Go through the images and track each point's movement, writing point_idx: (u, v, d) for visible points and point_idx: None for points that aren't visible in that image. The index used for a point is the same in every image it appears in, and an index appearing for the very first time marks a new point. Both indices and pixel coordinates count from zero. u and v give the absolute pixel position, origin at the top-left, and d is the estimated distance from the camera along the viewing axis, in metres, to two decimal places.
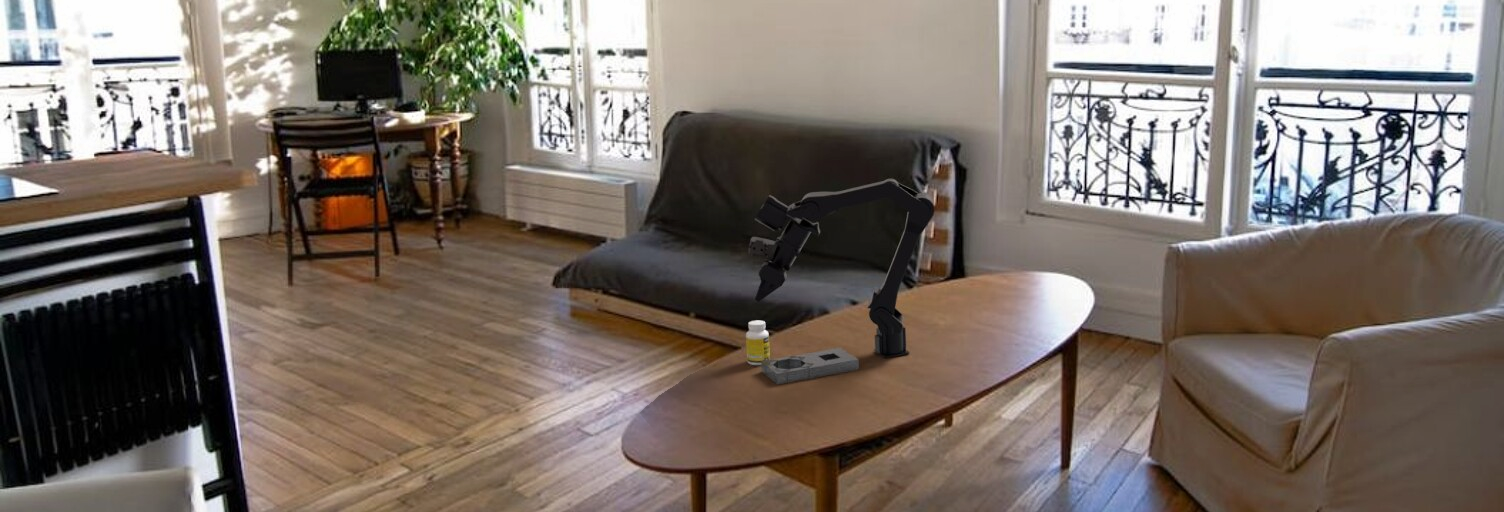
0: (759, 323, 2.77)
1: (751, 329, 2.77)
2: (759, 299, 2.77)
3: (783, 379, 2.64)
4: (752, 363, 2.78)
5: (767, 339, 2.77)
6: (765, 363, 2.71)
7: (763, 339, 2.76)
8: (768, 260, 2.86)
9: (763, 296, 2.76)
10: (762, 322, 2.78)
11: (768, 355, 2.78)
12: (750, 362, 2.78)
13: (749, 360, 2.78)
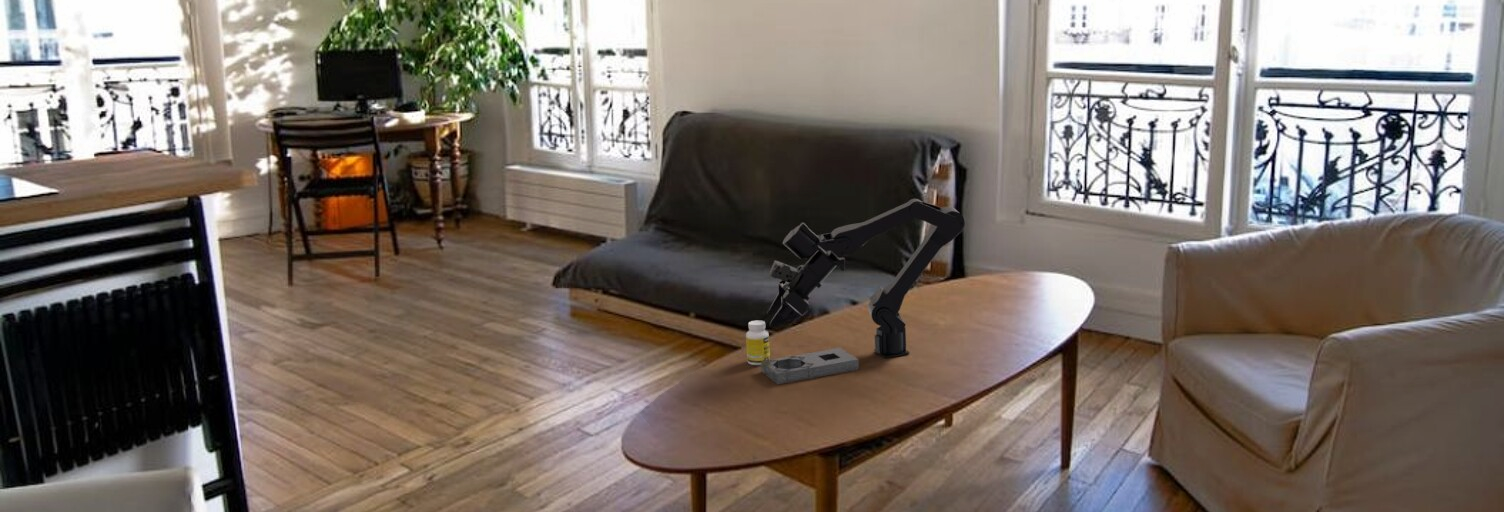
0: (759, 323, 2.77)
1: (751, 329, 2.77)
2: (774, 324, 2.73)
3: (783, 379, 2.64)
4: (752, 363, 2.78)
5: (767, 339, 2.77)
6: (765, 363, 2.71)
7: (763, 339, 2.76)
8: (780, 285, 2.82)
9: (779, 322, 2.72)
10: (762, 322, 2.78)
11: (768, 355, 2.78)
12: (750, 362, 2.78)
13: (749, 360, 2.78)
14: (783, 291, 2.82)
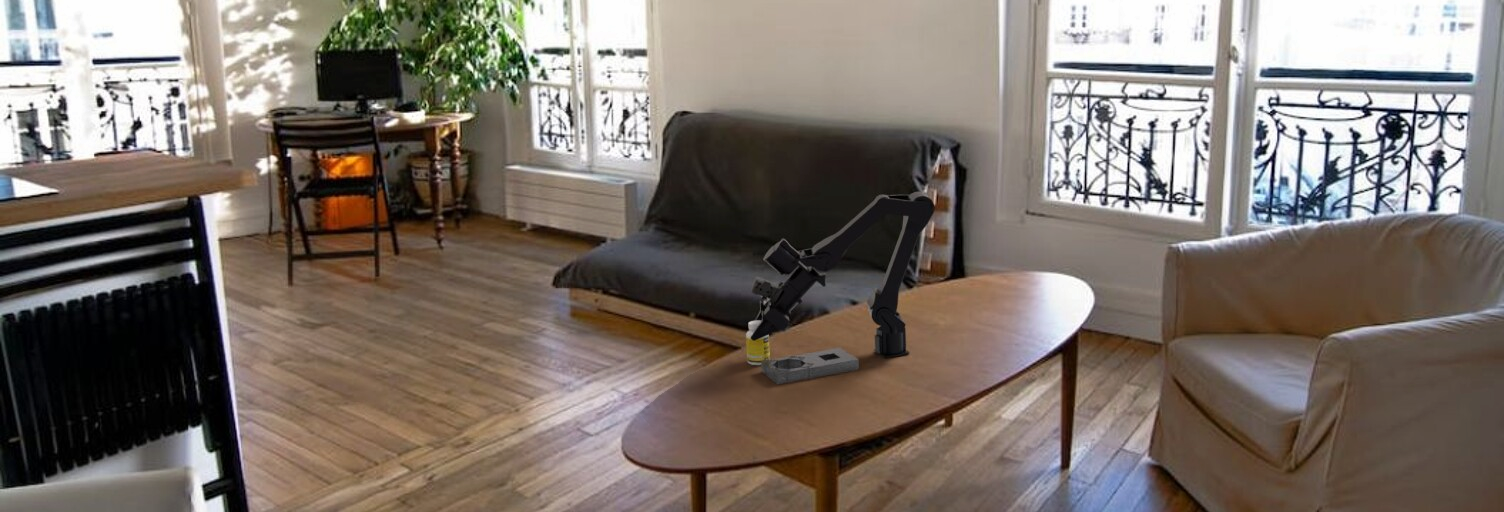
0: None
1: (751, 329, 2.77)
2: (755, 338, 2.75)
3: (783, 379, 2.64)
4: (752, 363, 2.78)
5: (767, 339, 2.77)
6: (765, 363, 2.71)
7: (763, 339, 2.76)
8: (762, 303, 2.81)
9: (760, 336, 2.75)
10: None
11: (768, 355, 2.78)
12: (750, 362, 2.78)
13: (749, 360, 2.78)
14: (765, 308, 2.81)
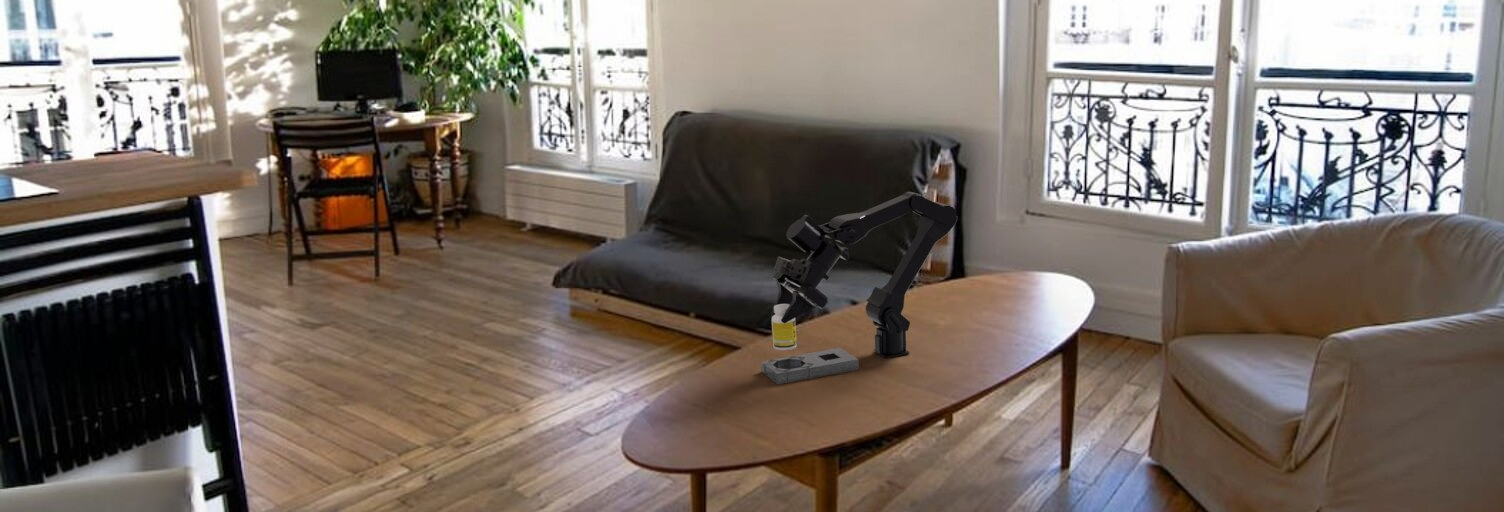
0: (786, 306, 2.67)
1: (779, 313, 2.66)
2: (786, 320, 2.65)
3: (783, 379, 2.64)
4: (782, 348, 2.67)
5: None
6: (765, 363, 2.71)
7: (792, 322, 2.66)
8: None
9: (792, 317, 2.65)
10: (788, 305, 2.68)
11: None
12: (779, 348, 2.67)
13: (778, 346, 2.67)
14: (785, 290, 2.71)
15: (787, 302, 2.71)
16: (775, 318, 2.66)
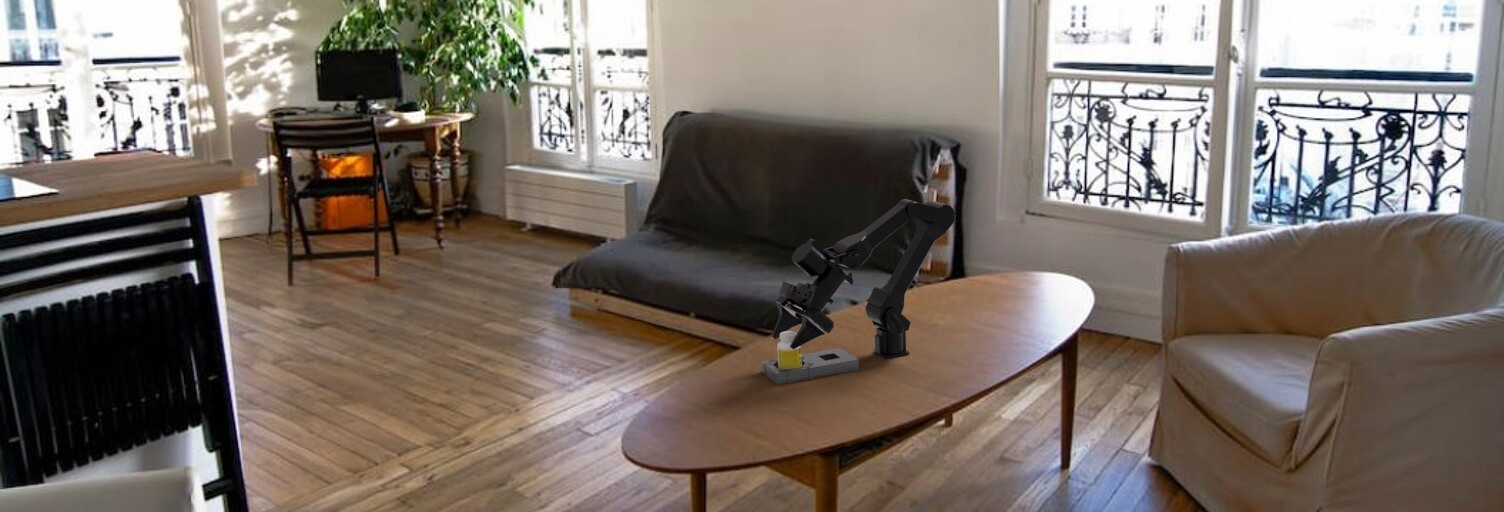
0: (792, 333, 2.67)
1: (785, 340, 2.66)
2: (795, 346, 2.63)
3: (783, 379, 2.64)
4: None
5: (800, 349, 2.68)
6: (765, 363, 2.71)
7: (798, 349, 2.67)
8: (782, 306, 2.73)
9: (801, 343, 2.63)
10: (794, 332, 2.68)
11: (801, 365, 2.69)
12: None
13: None
14: (786, 312, 2.72)
15: (788, 324, 2.73)
16: (781, 345, 2.67)
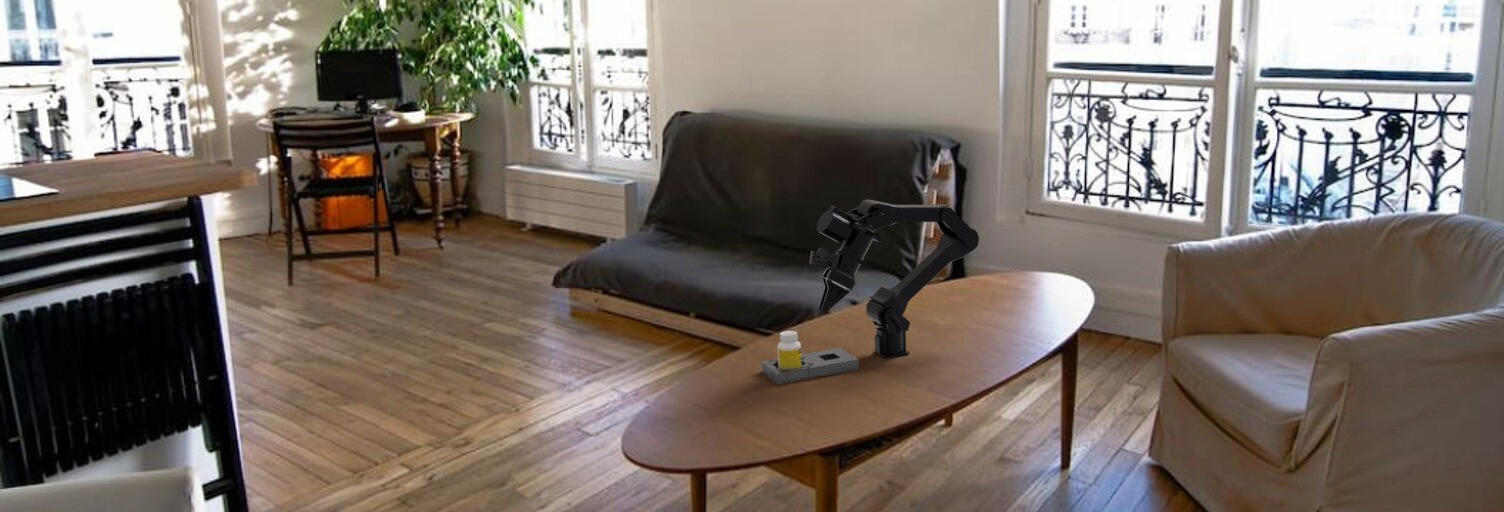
0: (792, 333, 2.67)
1: (786, 340, 2.66)
2: (826, 310, 2.67)
3: (783, 379, 2.64)
4: None
5: None
6: (765, 363, 2.71)
7: (798, 349, 2.67)
8: (825, 279, 2.78)
9: (830, 306, 2.66)
10: (794, 332, 2.68)
11: (801, 366, 2.69)
12: None
13: None
14: None
15: None
16: (781, 345, 2.67)
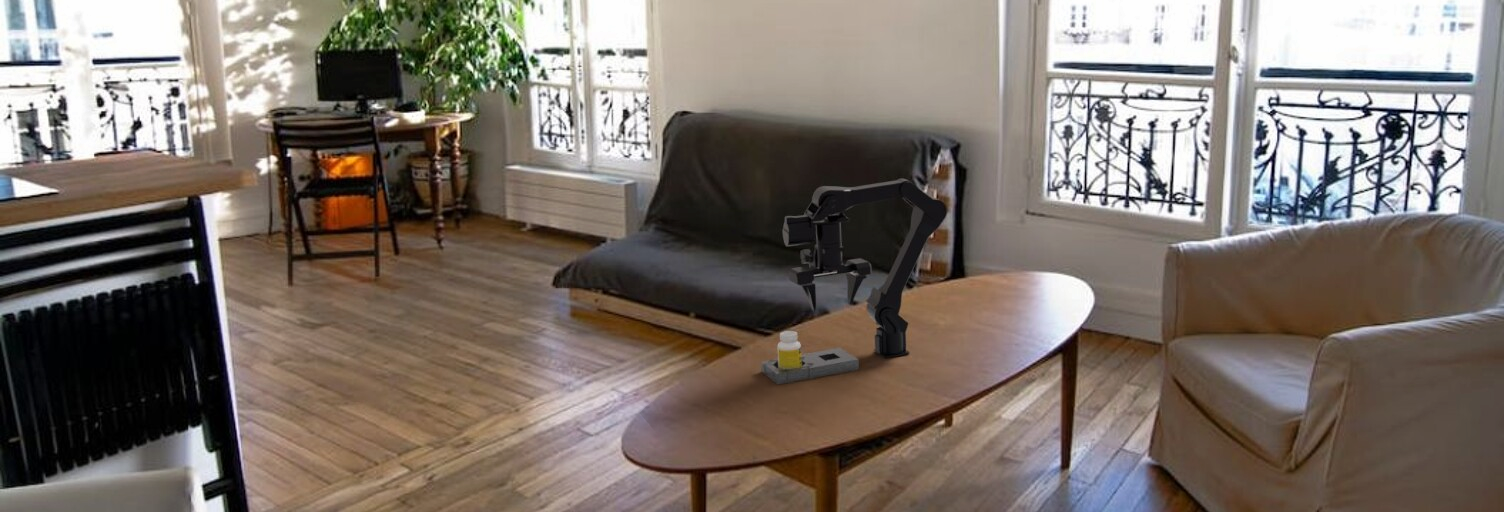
0: (792, 333, 2.67)
1: (785, 340, 2.66)
2: (812, 307, 2.73)
3: (783, 379, 2.64)
4: None
5: (800, 349, 2.68)
6: (765, 363, 2.71)
7: (798, 349, 2.67)
8: None
9: (811, 302, 2.72)
10: (794, 332, 2.68)
11: (801, 365, 2.69)
12: None
13: None
14: (848, 275, 2.76)
15: (851, 286, 2.75)
16: (781, 345, 2.67)
